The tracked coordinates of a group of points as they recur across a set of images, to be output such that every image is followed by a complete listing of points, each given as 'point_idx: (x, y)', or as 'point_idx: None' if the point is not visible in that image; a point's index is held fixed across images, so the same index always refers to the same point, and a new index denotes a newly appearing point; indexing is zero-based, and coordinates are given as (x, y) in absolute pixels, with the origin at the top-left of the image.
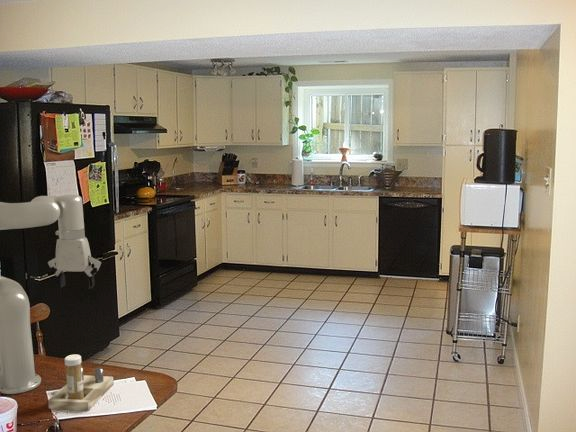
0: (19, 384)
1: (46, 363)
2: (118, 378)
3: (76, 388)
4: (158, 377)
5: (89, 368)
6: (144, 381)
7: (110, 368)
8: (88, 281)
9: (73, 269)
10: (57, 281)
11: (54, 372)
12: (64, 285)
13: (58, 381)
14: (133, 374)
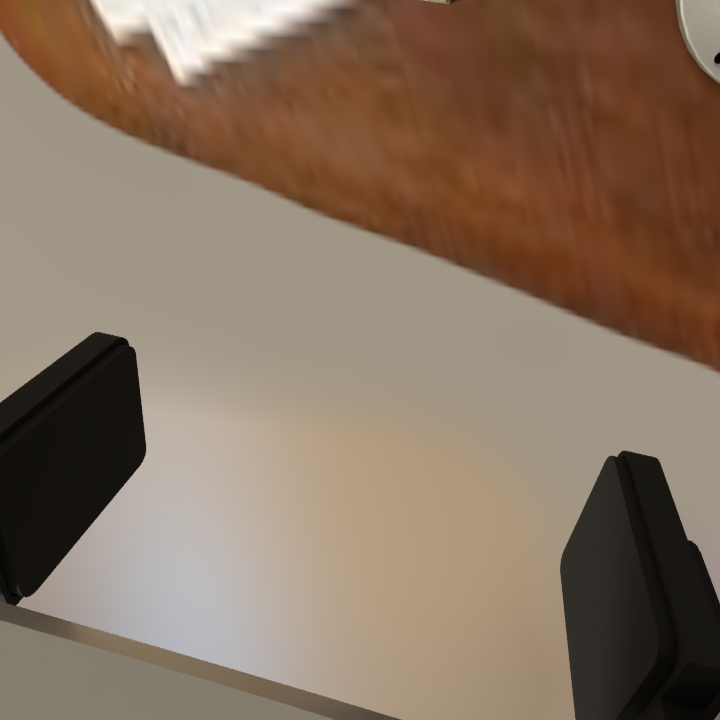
0: None
1: (682, 278)
2: (246, 58)
3: None
4: (68, 66)
5: (432, 196)
6: (109, 16)
7: (327, 189)
8: (10, 399)
9: (57, 699)
10: (709, 586)
11: (615, 155)
12: (569, 546)
13: (565, 21)
14: (193, 108)
